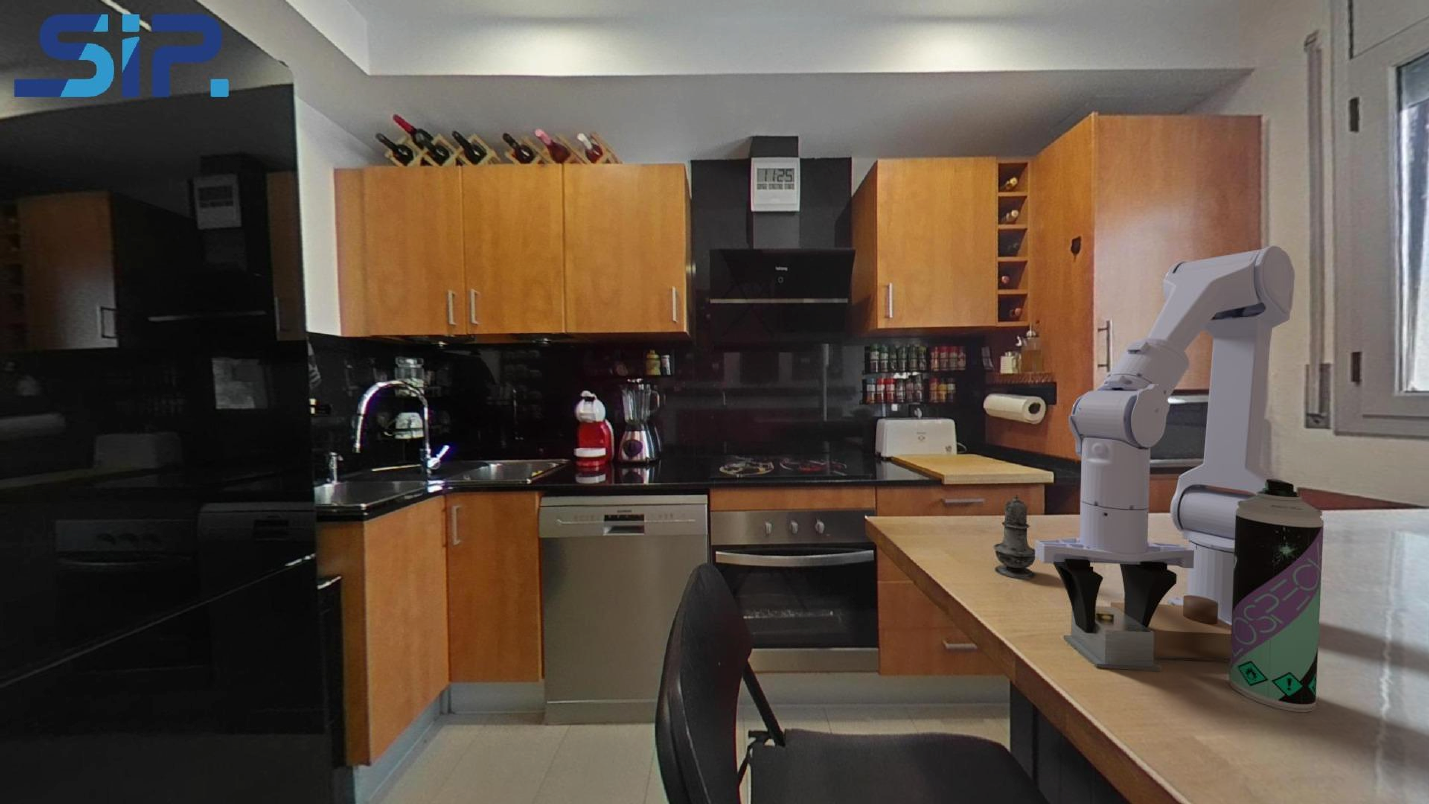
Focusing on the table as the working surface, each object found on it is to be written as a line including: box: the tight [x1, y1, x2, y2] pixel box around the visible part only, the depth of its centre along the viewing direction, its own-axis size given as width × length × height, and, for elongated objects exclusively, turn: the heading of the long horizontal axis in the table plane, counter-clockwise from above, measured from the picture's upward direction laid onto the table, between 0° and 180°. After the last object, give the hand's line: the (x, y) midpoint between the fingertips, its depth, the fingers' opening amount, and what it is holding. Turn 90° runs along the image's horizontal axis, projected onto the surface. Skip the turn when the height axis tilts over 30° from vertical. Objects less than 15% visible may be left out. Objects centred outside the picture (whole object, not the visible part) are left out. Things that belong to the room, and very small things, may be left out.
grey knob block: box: [1070, 605, 1154, 667], centre depth 55 cm, size 4×6×4 cm
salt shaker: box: [992, 493, 1036, 580], centre depth 79 cm, size 6×6×12 cm
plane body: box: [1110, 594, 1231, 663], centre depth 58 cm, size 9×7×5 cm
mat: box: [1063, 634, 1162, 672], centre depth 56 cm, size 6×6×1 cm
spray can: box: [1229, 479, 1325, 713], centre depth 48 cm, size 6×6×20 cm
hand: (1109, 630), depth 56 cm, fingers closed on grey knob block, 4 cm apart
